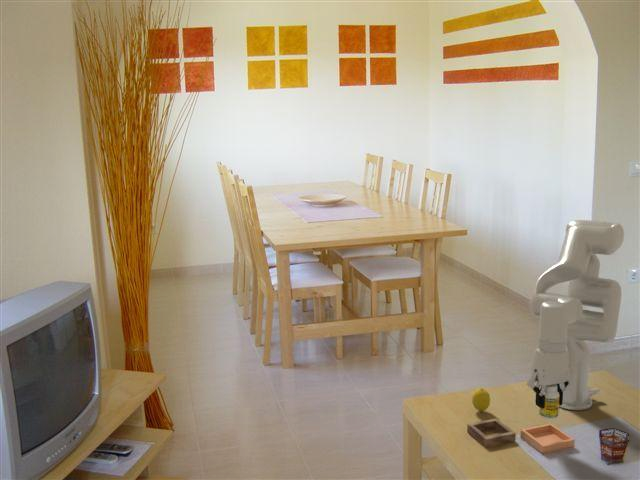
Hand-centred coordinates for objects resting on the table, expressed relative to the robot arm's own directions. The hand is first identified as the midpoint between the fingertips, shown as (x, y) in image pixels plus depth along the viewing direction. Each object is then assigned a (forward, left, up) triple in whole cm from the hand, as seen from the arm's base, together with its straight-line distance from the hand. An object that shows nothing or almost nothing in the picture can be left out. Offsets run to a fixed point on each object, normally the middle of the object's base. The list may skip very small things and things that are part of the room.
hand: (548, 404), depth 199 cm
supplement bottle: (0, 0, -4) cm, 4 cm away
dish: (0, 0, -12) cm, 12 cm away
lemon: (+7, -24, -12) cm, 28 cm away
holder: (+13, -9, -12) cm, 20 cm away
